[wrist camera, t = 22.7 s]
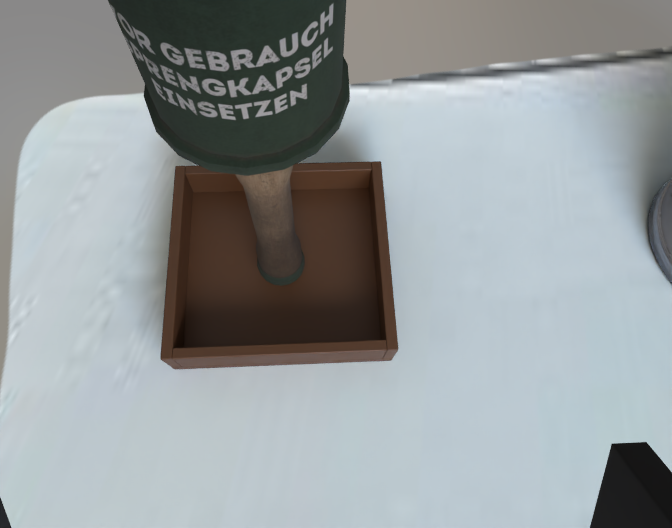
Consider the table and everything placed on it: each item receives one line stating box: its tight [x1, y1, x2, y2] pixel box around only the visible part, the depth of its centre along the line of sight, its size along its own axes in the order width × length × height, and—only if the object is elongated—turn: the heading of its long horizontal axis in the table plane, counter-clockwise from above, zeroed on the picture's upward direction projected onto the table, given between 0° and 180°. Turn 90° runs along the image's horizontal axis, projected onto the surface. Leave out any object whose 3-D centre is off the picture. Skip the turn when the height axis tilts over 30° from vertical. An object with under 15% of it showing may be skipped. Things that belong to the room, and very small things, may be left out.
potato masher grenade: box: [108, 0, 350, 286], centre depth 28 cm, size 8×9×30 cm
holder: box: [161, 162, 398, 369], centre depth 41 cm, size 17×16×4 cm
